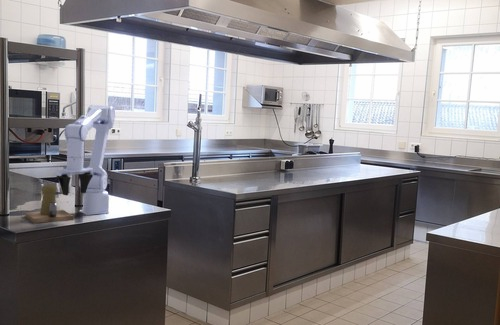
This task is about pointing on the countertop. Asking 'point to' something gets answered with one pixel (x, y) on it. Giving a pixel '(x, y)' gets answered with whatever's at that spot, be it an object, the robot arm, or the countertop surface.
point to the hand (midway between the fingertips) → (74, 193)
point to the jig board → (39, 218)
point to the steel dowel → (53, 209)
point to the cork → (47, 198)
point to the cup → (69, 184)
